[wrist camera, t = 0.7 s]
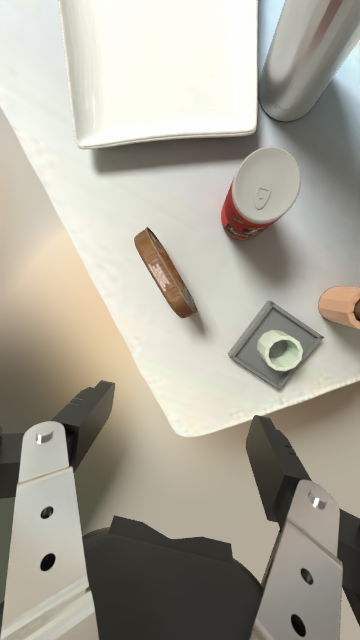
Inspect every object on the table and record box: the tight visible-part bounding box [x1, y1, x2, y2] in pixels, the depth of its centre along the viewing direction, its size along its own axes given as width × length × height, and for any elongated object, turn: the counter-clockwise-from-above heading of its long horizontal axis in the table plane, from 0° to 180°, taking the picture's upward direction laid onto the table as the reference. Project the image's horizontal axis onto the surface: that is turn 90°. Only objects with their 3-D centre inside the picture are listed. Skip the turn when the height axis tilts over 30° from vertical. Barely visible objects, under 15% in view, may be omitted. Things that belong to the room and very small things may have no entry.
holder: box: [257, 330, 303, 371], centre depth 35 cm, size 6×6×4 cm
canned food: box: [221, 146, 301, 240], centre depth 29 cm, size 8×8×11 cm
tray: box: [228, 301, 324, 389], centre depth 37 cm, size 12×11×2 cm
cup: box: [318, 286, 360, 329], centre depth 32 cm, size 6×6×7 cm
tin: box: [134, 227, 197, 318], centre depth 33 cm, size 15×3×8 cm, turn 30°
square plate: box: [58, 0, 258, 149], centre depth 29 cm, size 27×27×4 cm
